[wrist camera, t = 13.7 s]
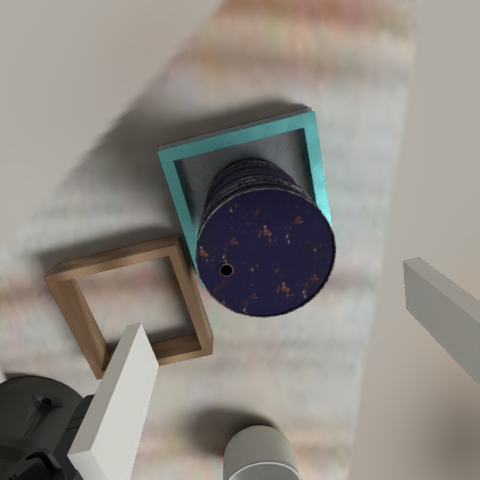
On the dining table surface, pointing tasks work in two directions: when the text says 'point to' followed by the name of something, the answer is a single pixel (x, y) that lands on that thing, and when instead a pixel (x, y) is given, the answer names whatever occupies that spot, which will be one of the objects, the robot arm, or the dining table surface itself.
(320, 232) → the navy oil drum
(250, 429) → the teacup
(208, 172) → the teal square tray
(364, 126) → the dining table surface
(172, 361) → the walnut holder
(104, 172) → the dining table surface
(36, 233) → the dining table surface
